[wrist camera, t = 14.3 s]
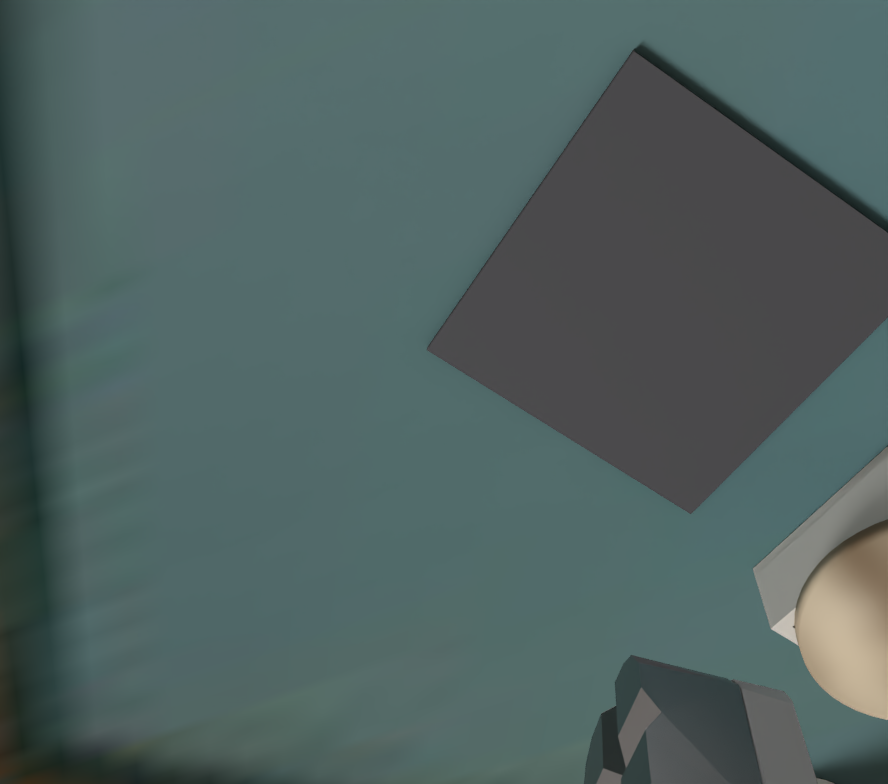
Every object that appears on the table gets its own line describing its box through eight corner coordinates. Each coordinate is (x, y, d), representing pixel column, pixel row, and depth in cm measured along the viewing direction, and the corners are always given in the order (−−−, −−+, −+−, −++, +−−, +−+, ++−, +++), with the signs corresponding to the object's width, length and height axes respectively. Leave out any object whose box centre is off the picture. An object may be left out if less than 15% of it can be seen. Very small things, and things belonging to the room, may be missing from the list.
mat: (633, 50, 34) (634, 51, 34) (933, 265, 37) (936, 268, 36) (428, 346, 41) (426, 350, 41) (689, 509, 44) (690, 514, 43)
